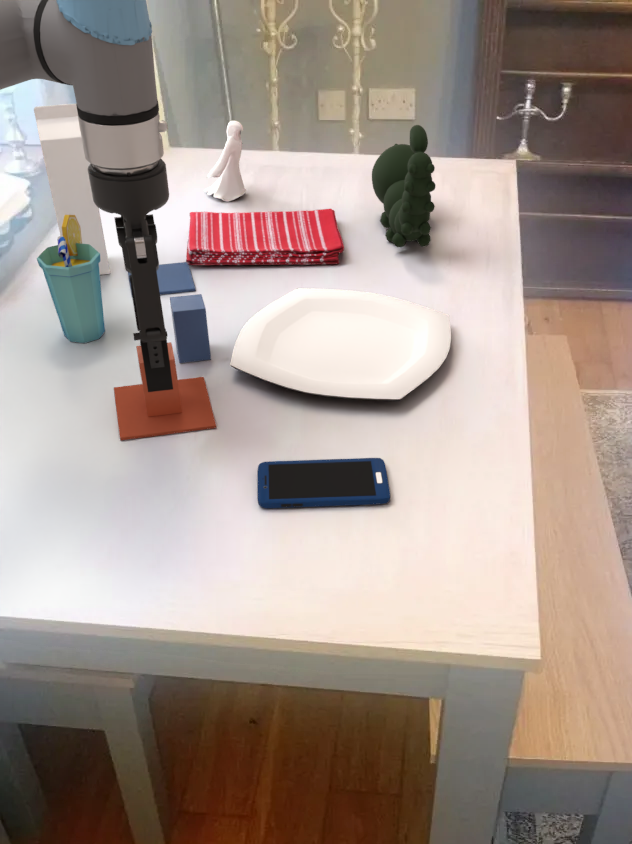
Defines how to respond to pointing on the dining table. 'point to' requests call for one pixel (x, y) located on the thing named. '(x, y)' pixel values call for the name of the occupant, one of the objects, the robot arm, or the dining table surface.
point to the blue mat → (174, 278)
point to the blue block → (190, 328)
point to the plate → (343, 344)
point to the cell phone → (322, 483)
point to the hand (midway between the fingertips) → (154, 357)
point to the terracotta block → (165, 399)
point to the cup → (74, 283)
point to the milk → (70, 174)
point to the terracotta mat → (140, 425)
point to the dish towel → (264, 238)
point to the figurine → (228, 167)
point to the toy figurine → (405, 189)
